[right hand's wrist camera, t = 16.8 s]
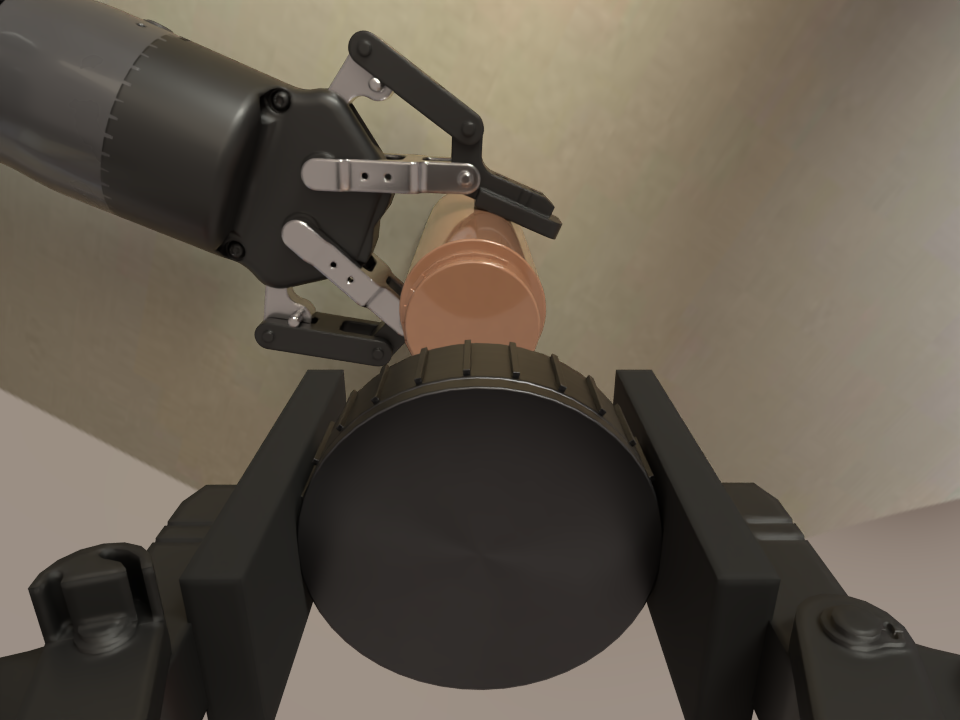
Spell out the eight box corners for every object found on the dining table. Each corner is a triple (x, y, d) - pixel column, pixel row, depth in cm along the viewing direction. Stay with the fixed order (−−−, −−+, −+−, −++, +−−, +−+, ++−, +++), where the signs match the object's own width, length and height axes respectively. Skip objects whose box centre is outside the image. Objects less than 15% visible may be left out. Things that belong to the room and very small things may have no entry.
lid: (700, 406, 12) (739, 460, 10) (562, 649, 14) (574, 730, 12) (376, 286, 11) (356, 323, 9) (281, 564, 13) (250, 637, 11)
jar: (406, 225, 35) (360, 314, 21) (482, 165, 34) (487, 216, 20) (464, 298, 36) (458, 426, 22) (539, 243, 35) (582, 341, 21)
